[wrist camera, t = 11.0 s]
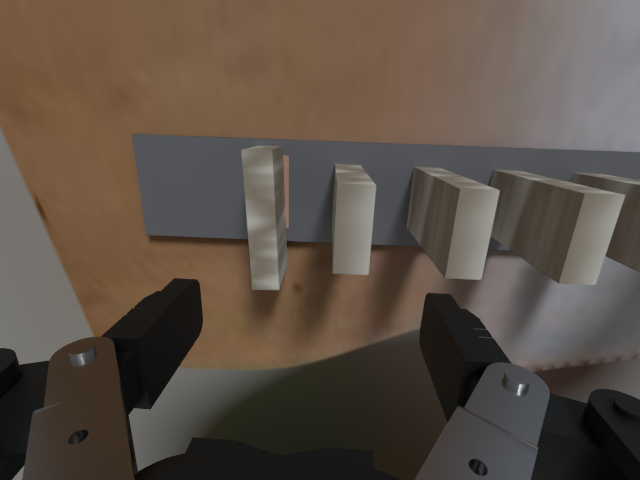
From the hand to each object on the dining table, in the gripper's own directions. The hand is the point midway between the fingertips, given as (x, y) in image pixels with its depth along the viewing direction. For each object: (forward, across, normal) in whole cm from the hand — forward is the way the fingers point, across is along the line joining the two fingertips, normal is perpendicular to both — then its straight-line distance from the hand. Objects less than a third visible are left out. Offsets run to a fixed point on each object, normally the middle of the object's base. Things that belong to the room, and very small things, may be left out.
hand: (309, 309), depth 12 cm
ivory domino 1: (+22, -2, 0) cm, 22 cm away
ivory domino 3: (+22, -17, 0) cm, 28 cm away
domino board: (+23, -5, 0) cm, 24 cm away
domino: (+19, +6, -4) cm, 20 cm away
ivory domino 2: (+22, -9, 0) cm, 24 cm away
